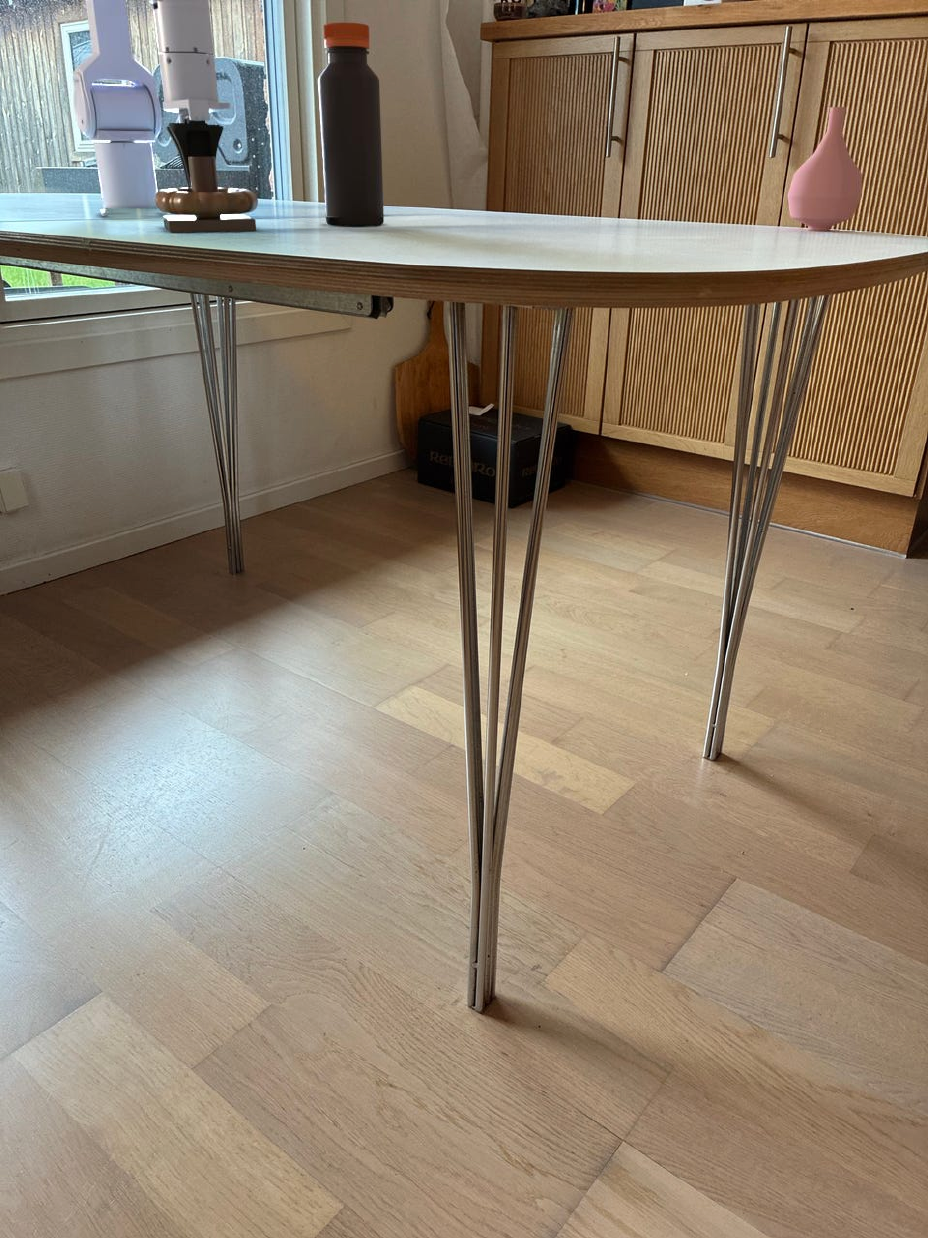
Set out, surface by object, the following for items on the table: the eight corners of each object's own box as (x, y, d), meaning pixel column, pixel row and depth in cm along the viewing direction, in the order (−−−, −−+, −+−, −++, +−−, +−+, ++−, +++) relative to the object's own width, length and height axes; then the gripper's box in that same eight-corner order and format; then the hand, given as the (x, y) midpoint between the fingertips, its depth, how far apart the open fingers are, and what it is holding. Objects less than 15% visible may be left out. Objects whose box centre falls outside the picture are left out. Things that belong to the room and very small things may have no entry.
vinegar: (323, 223, 113) (311, 27, 104) (379, 222, 114) (372, 29, 105) (329, 227, 107) (318, 19, 98) (388, 226, 108) (382, 22, 100)
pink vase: (827, 226, 109) (846, 109, 103) (870, 231, 102) (893, 106, 97) (769, 228, 107) (785, 107, 101) (809, 232, 100) (829, 104, 95)
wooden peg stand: (164, 227, 106) (155, 156, 103) (245, 225, 109) (238, 156, 106) (170, 232, 99) (160, 156, 95) (256, 230, 101) (249, 156, 98)
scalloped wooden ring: (154, 208, 106) (151, 187, 105) (250, 207, 109) (248, 186, 108) (159, 216, 97) (156, 193, 96) (264, 214, 100) (262, 192, 99)
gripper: (233, 50, 95) (246, 197, 101) (217, 62, 107) (230, 192, 113) (160, 47, 93) (178, 197, 99) (152, 59, 105) (169, 193, 111)
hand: (201, 195), depth 106 cm, fingers closed on scalloped wooden ring, 2 cm apart
